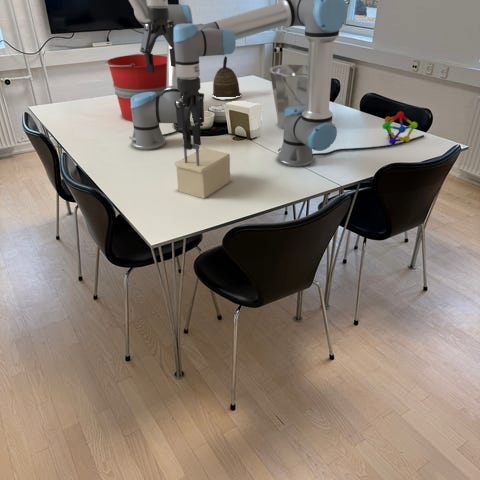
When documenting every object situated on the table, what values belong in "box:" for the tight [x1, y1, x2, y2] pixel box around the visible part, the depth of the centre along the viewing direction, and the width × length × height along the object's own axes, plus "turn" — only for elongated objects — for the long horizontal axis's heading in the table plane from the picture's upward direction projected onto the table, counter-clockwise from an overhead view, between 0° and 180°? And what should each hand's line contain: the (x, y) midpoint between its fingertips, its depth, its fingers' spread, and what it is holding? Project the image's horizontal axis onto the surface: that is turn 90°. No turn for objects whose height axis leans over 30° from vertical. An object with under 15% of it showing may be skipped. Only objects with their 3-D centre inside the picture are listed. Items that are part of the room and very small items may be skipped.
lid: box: [174, 141, 231, 173], centre depth 161 cm, size 18×12×9 cm, turn 148°
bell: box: [212, 55, 242, 97], centre depth 278 cm, size 19×26×20 cm
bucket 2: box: [269, 63, 308, 129], centre depth 226 cm, size 30×30×28 cm
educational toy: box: [382, 110, 418, 145], centre depth 207 cm, size 16×13×15 cm
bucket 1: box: [103, 53, 167, 122], centre depth 240 cm, size 35×35×30 cm
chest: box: [175, 156, 231, 199], centre depth 166 cm, size 17×12×10 cm
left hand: (162, 69), depth 170 cm, fingers open, 13 cm apart
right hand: (192, 146), depth 155 cm, fingers open, 5 cm apart
